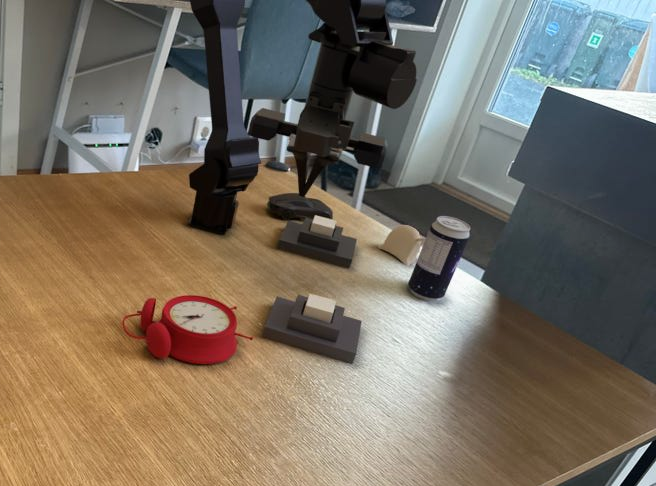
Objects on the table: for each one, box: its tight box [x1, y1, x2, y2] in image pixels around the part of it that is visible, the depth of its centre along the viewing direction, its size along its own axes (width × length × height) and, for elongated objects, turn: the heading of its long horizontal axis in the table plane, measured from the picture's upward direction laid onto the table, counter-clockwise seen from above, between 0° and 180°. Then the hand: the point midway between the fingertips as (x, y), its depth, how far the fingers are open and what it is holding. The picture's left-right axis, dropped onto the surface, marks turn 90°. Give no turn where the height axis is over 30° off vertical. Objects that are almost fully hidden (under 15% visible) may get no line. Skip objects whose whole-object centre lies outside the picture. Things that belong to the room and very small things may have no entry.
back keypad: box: [276, 218, 358, 270], centre depth 116 cm, size 12×9×4 cm
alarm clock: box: [121, 294, 254, 365], centre depth 86 cm, size 10×6×15 cm
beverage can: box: [407, 215, 471, 302], centre depth 106 cm, size 6×6×12 cm
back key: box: [310, 215, 337, 237], centre depth 115 cm, size 4×4×2 cm
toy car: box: [266, 192, 334, 222], centre depth 127 cm, size 6×12×4 cm, turn 99°
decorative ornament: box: [377, 224, 426, 266], centre depth 118 cm, size 4×8×5 cm, turn 32°
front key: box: [303, 293, 337, 323], centre depth 92 cm, size 4×4×2 cm
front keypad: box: [261, 294, 363, 365], centre depth 93 cm, size 12×9×4 cm
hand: (301, 195), depth 102 cm, fingers closed
